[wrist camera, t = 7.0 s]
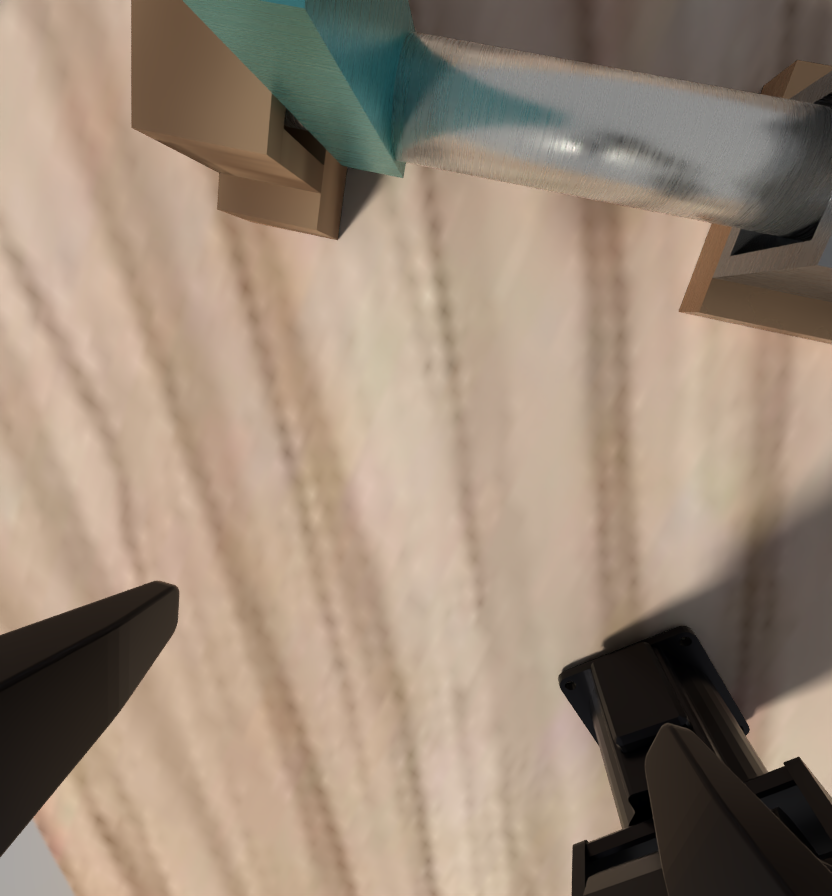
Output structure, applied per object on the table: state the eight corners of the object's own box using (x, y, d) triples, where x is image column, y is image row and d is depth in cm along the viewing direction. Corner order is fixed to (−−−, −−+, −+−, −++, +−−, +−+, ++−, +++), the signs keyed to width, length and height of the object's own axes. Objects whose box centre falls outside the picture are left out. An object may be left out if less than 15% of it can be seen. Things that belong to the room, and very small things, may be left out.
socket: (367, 15, 15) (294, -179, 9) (337, 239, 17) (262, 204, 11) (268, -3, 15) (131, -205, 9) (250, 221, 18) (131, 177, 11)
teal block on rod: (915, 155, 12) (1738, -129, 4) (860, 269, 13) (1448, 214, 5) (276, 37, 14) (-23, -364, 5) (267, 150, 15) (0, -46, 6)
